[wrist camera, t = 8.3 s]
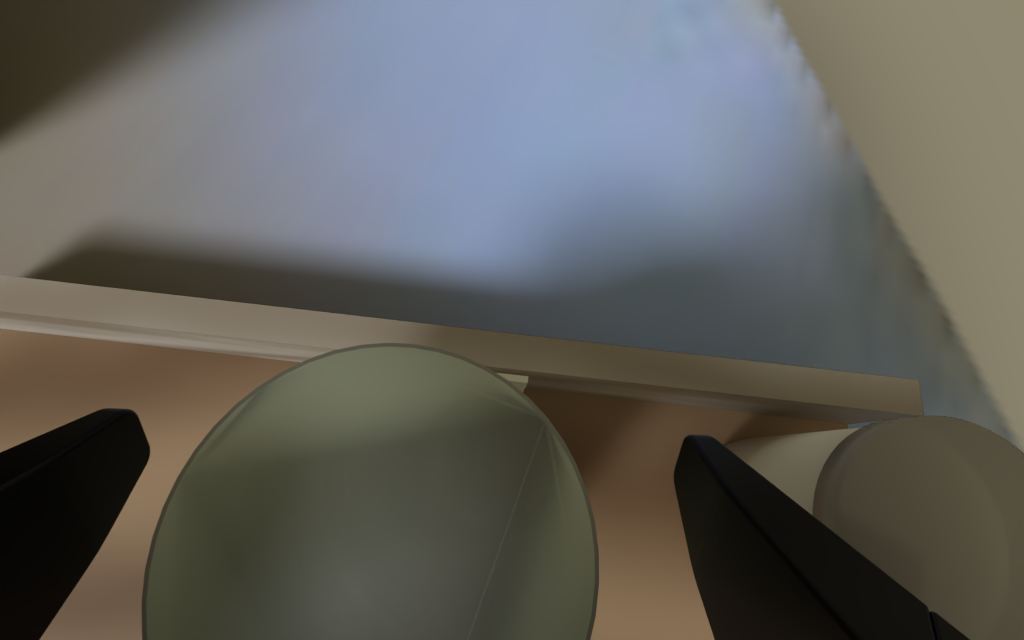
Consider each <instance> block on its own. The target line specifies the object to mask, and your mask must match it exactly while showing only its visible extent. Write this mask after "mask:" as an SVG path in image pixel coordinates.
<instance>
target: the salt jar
mask: <svg viewBox="0 0 1024 640" xmlns="http://www.w3.org/2000/svg"><path fill="white" fill-rule="evenodd" d="M725 447H727V448H728V449H729V450H730V451H732V452H733V453H734V454H736V455H737V456H738V457H739V458H741V459H742V460H743V461H744V462H746V463H747V464H748V465H749V466H751V467H752V468H753V469H755V470H756V471H757V472H758V473H760V474H761V475H762V476H763V477H765V478H766V479H767V480H768V481H770V482H771V483H772V484H774V485H775V486H776V487H777V488H779V489H780V490H781V491H782V492H784V493H785V494H786V495H787V496H789V497H790V498H791V499H792V500H794V501H795V502H796V503H798V504H799V505H800V506H801V507H803V508H804V509H805V510H806V511H808V512H809V513H810V514H811V515H813V516H814V517H815V518H817V519H818V520H819V521H820V522H822V523H823V524H824V525H825V526H827V527H828V528H829V529H830V530H832V531H833V532H834V533H836V534H837V535H838V536H839V537H841V538H842V539H843V540H844V541H846V542H847V543H848V544H849V545H851V546H852V547H853V548H855V549H856V550H857V551H858V552H860V553H861V554H862V555H863V556H865V557H866V558H867V559H868V560H870V561H871V562H872V563H874V564H875V565H876V566H877V567H879V568H880V569H881V570H882V571H884V572H885V573H886V574H887V575H889V576H890V577H891V578H893V579H894V580H895V581H896V582H898V583H899V584H900V585H901V586H903V587H904V588H905V589H906V590H908V591H909V592H910V593H912V594H913V595H914V596H915V597H917V598H918V599H919V600H920V601H922V602H923V603H924V604H925V605H927V607H928V609H929V611H934V612H936V613H937V614H938V615H940V616H941V617H942V618H943V619H945V620H946V621H947V622H948V623H950V624H951V625H952V626H954V627H955V628H956V629H957V630H959V631H960V632H961V633H962V634H964V635H965V636H966V637H968V638H969V639H970V640H1024V453H1023V452H1021V451H1020V450H1019V449H1018V448H1017V447H1015V446H1014V445H1012V444H1011V443H1010V442H1008V441H1007V440H1005V439H1004V438H1002V437H1000V436H999V435H997V434H995V433H994V432H992V431H990V430H988V429H986V428H983V427H981V426H979V425H976V424H974V423H971V422H968V421H964V420H961V419H957V418H951V417H945V416H921V417H911V418H902V419H893V420H884V421H880V422H876V423H872V424H869V425H867V426H864V427H862V428H851V429H841V430H831V431H820V432H810V433H800V434H789V435H779V436H768V437H758V438H748V439H741V440H737V441H734V442H732V443H729V444H727V445H725Z"/></svg>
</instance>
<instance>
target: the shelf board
mask: <svg viewBox="0 0 1024 640" xmlns="http://www.w3.org/2000/svg"><path fill="white" fill-rule="evenodd" d="M378 343H404V344H416V345H422V346H428V347H433V348H439V349H442V350H445V351H449V352H452V353H455V354H458V355H461V356H464V357H466V358H468V359H471V360H473V361H475V362H477V363H479V364H481V365H484V366H486V367H488V368H489V369H491V370H492V371H494V372H495V373H502V374H511V375H520V376H528V383H527V385H526V387H525V389H524V391H523V393H524V394H525V395H526V396H527V397H529V398H530V399H531V400H532V402H533V403H534V404H535V405H536V406H537V407H538V408H539V409H540V410H541V411H542V412H543V413H544V414H545V416H546V417H547V418H548V419H549V421H550V422H551V423H552V425H553V426H554V428H555V429H556V430H557V432H558V433H559V435H560V436H561V437H562V439H563V440H564V442H565V444H566V446H567V448H568V449H569V451H570V453H571V455H572V457H573V459H574V461H575V462H576V464H577V467H578V469H579V472H580V474H581V477H582V479H583V482H584V485H585V487H586V490H587V493H588V496H589V500H590V504H591V508H592V512H593V516H594V520H595V527H596V534H597V542H598V549H599V590H598V599H597V609H596V617H595V621H594V626H593V630H592V635H591V639H590V640H715V639H714V636H713V633H712V630H711V627H710V624H709V621H708V618H707V615H706V612H705V609H704V606H703V603H702V600H701V596H700V593H699V590H698V587H697V584H696V580H695V577H694V574H693V570H692V566H691V561H690V557H689V552H688V548H687V543H686V538H685V533H684V529H683V524H682V519H681V514H680V510H679V505H678V500H677V496H676V491H675V486H674V469H675V466H676V462H677V459H678V456H679V452H680V449H681V446H682V442H683V440H684V438H685V437H686V436H687V435H709V436H712V437H714V438H715V439H717V440H718V441H719V442H720V443H722V444H723V445H724V446H725V445H727V444H729V443H732V442H734V441H737V440H741V439H748V438H758V437H768V436H779V435H789V434H800V433H810V432H820V431H831V430H841V429H848V426H847V424H852V423H861V422H870V421H879V420H888V419H898V418H907V417H916V416H924V414H923V406H922V399H921V392H920V384H919V380H914V379H905V378H896V377H888V376H879V375H870V374H861V373H853V372H844V371H835V370H827V369H818V368H809V367H800V366H792V365H783V364H774V363H765V362H757V361H748V360H739V359H730V358H722V357H713V356H704V355H695V354H687V353H678V352H669V351H660V350H652V349H643V348H634V347H625V346H617V345H608V344H599V343H590V342H582V341H573V340H564V339H556V338H547V337H538V336H529V335H521V334H512V333H503V332H494V331H486V330H477V329H468V328H459V327H451V326H442V325H433V324H424V323H416V322H407V321H398V320H389V319H381V318H372V317H363V316H354V315H346V314H337V313H328V312H319V311H311V310H302V309H293V308H284V307H276V306H267V305H258V304H250V303H241V302H232V301H223V300H215V299H206V298H197V297H188V296H180V295H171V294H162V293H153V292H145V291H136V290H127V289H118V288H110V287H101V286H92V285H83V284H75V283H66V282H57V281H48V280H40V279H31V278H22V277H13V276H5V275H0V452H2V451H5V450H7V449H9V448H12V447H14V446H16V445H19V444H21V443H23V442H25V441H28V440H30V439H32V438H35V437H37V436H39V435H42V434H44V433H46V432H49V431H51V430H53V429H56V428H58V427H60V426H63V425H65V424H67V423H70V422H72V421H74V420H77V419H79V418H81V417H83V416H86V415H88V414H90V413H93V412H95V411H97V410H100V409H104V408H123V409H131V410H133V411H134V412H136V413H137V415H138V417H139V419H140V422H141V424H142V427H143V429H144V432H145V435H146V437H147V440H148V442H149V445H150V457H149V460H148V463H147V465H146V467H145V469H144V470H143V472H142V474H141V476H140V478H139V480H138V481H137V483H136V485H135V487H134V489H133V491H132V492H131V494H130V496H129V498H128V500H127V502H126V503H125V505H124V507H123V509H122V511H121V512H120V514H119V516H118V518H117V520H116V522H115V523H114V525H113V527H112V529H111V531H110V533H109V534H108V536H107V538H106V540H105V541H104V543H103V545H102V547H101V548H100V550H99V552H98V553H97V555H96V556H95V558H94V559H93V561H92V563H91V564H90V566H89V567H88V569H87V570H86V572H85V573H84V575H83V576H82V578H81V579H80V581H79V582H78V584H77V585H76V587H75V588H74V590H73V591H72V593H71V594H70V595H69V597H68V598H67V600H66V601H65V603H64V604H63V606H62V607H61V609H60V610H59V612H58V613H57V615H56V616H55V618H54V619H53V621H52V622H51V624H50V625H49V627H48V628H47V630H46V631H45V633H44V634H43V636H42V637H41V639H40V640H142V608H141V602H142V593H143V583H144V574H145V567H146V563H147V558H148V554H149V550H150V545H151V541H152V537H153V534H154V531H155V528H156V525H157V523H158V520H159V517H160V514H161V511H162V508H163V506H164V504H165V502H166V500H167V497H168V495H169V493H170V491H171V489H172V487H173V485H174V483H175V481H176V479H177V477H178V475H179V474H180V472H181V471H182V469H183V467H184V466H185V464H186V463H187V461H188V460H189V458H190V456H191V455H192V453H193V452H194V450H195V449H196V448H197V446H198V445H199V444H200V443H201V441H202V440H203V439H204V438H205V436H206V435H207V434H208V433H209V431H210V430H211V429H212V428H213V426H214V425H215V424H216V423H217V422H218V421H219V420H220V419H221V418H222V417H223V416H224V415H225V414H226V413H227V412H228V411H229V410H230V409H231V408H232V407H233V406H234V405H235V404H237V403H238V402H239V401H240V400H242V399H243V398H244V397H246V396H247V395H248V394H249V393H251V392H252V391H253V390H254V389H256V388H257V387H258V386H260V385H261V384H263V383H264V382H266V381H268V380H269V379H271V378H272V377H274V376H276V375H277V374H279V373H281V372H282V371H284V370H286V369H288V368H290V367H292V366H295V365H297V364H299V363H301V362H303V361H305V360H307V359H310V358H313V357H316V356H319V355H322V354H325V353H328V352H331V351H334V350H338V349H343V348H348V347H353V346H358V345H365V344H378Z"/></svg>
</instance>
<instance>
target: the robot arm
mask: <svg viewBox="0 0 1024 640" xmlns="http://www.w3.org/2000/svg"><path fill="white" fill-rule="evenodd" d="M149 457H150V445H149V442H148V440H147V437H146V435H145V432H144V429H143V427H142V424H141V422H140V419H139V417H138V415H137V413H136V412H134V411H133V410H131V409H123V408H104V409H100V410H97V411H95V412H93V413H90V414H88V415H86V416H83V417H81V418H79V419H77V420H74V421H72V422H70V423H67V424H65V425H63V426H60V427H58V428H56V429H53V430H51V431H49V432H46V433H44V434H42V435H39V436H37V437H35V438H32V439H30V440H28V441H25V442H23V443H21V444H19V445H16V446H14V447H12V448H9V449H7V450H5V451H2V452H0V640H40V639H41V637H42V636H43V634H44V633H45V631H46V630H47V628H48V627H49V625H50V624H51V622H52V621H53V619H54V618H55V616H56V615H57V613H58V612H59V610H60V609H61V607H62V606H63V604H64V603H65V601H66V600H67V598H68V597H69V595H70V594H71V593H72V591H73V590H74V588H75V587H76V585H77V584H78V582H79V581H80V579H81V578H82V576H83V575H84V573H85V572H86V570H87V569H88V567H89V566H90V564H91V563H92V561H93V559H94V558H95V556H96V555H97V553H98V552H99V550H100V548H101V547H102V545H103V543H104V541H105V540H106V538H107V536H108V534H109V533H110V531H111V529H112V527H113V525H114V523H115V522H116V520H117V518H118V516H119V514H120V512H121V511H122V509H123V507H124V505H125V503H126V502H127V500H128V498H129V496H130V494H131V492H132V491H133V489H134V487H135V485H136V483H137V481H138V480H139V478H140V476H141V474H142V472H143V470H144V469H145V467H146V465H147V463H148V460H149ZM674 486H675V491H676V496H677V500H678V505H679V510H680V514H681V519H682V524H683V529H684V533H685V538H686V543H687V548H688V552H689V557H690V561H691V566H692V570H693V574H694V577H695V580H696V584H697V587H698V590H699V593H700V596H701V600H702V603H703V606H704V609H705V612H706V615H707V618H708V621H709V624H710V627H711V630H712V633H713V636H714V639H715V640H970V639H969V638H968V637H966V636H965V635H964V634H962V633H961V632H960V631H959V630H957V629H956V628H955V627H954V626H952V625H951V624H950V623H948V622H947V621H946V620H945V619H943V618H942V617H941V616H940V615H938V614H937V613H936V612H934V611H929V609H928V607H927V605H925V604H924V603H923V602H922V601H920V600H919V599H918V598H917V597H915V596H914V595H913V594H912V593H910V592H909V591H908V590H906V589H905V588H904V587H903V586H901V585H900V584H899V583H898V582H896V581H895V580H894V579H893V578H891V577H890V576H889V575H887V574H886V573H885V572H884V571H882V570H881V569H880V568H879V567H877V566H876V565H875V564H874V563H872V562H871V561H870V560H868V559H867V558H866V557H865V556H863V555H862V554H861V553H860V552H858V551H857V550H856V549H855V548H853V547H852V546H851V545H849V544H848V543H847V542H846V541H844V540H843V539H842V538H841V537H839V536H838V535H837V534H836V533H834V532H833V531H832V530H830V529H829V528H828V527H827V526H825V525H824V524H823V523H822V522H820V521H819V520H818V519H817V518H815V517H814V516H813V515H811V514H810V513H809V512H808V511H806V510H805V509H804V508H803V507H801V506H800V505H799V504H798V503H796V502H795V501H794V500H792V499H791V498H790V497H789V496H787V495H786V494H785V493H784V492H782V491H781V490H780V489H779V488H777V487H776V486H775V485H774V484H772V483H771V482H770V481H768V480H767V479H766V478H765V477H763V476H762V475H761V474H760V473H758V472H757V471H756V470H755V469H753V468H752V467H751V466H749V465H748V464H747V463H746V462H744V461H743V460H742V459H741V458H739V457H738V456H737V455H736V454H734V453H733V452H732V451H730V450H729V449H728V448H727V447H725V446H724V445H723V444H722V443H720V442H719V441H718V440H717V439H715V438H714V437H712V436H709V435H687V436H686V437H685V438H684V440H683V442H682V446H681V449H680V452H679V456H678V459H677V462H676V466H675V469H674Z"/></svg>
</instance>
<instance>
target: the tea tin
mask: <svg viewBox="0 0 1024 640" xmlns="http://www.w3.org/2000/svg"><path fill="white" fill-rule="evenodd" d="M527 383H528V376H520V375H511V374H502V373H495V372H494V371H492V370H491V369H489V368H488V367H486V366H484V365H481V364H479V363H477V362H475V361H473V360H471V359H468V358H466V357H464V356H461V355H458V354H455V353H452V352H449V351H445V350H442V349H439V348H433V347H428V346H422V345H416V344H404V343H378V344H365V345H358V346H353V347H348V348H343V349H338V350H334V351H331V352H328V353H325V354H322V355H319V356H316V357H313V358H310V359H307V360H305V361H303V362H301V363H299V364H297V365H295V366H292V367H290V368H288V369H286V370H284V371H282V372H281V373H279V374H277V375H276V376H274V377H272V378H271V379H269V380H268V381H266V382H264V383H263V384H261V385H260V386H258V387H257V388H256V389H254V390H253V391H252V392H251V393H249V394H248V395H247V396H246V397H244V398H243V399H242V400H240V401H239V402H238V403H237V404H235V405H234V406H233V407H232V408H231V409H230V410H229V411H228V412H227V413H226V414H225V415H224V416H223V417H222V418H221V419H220V420H219V421H218V422H217V423H216V424H215V425H214V426H213V428H212V429H211V430H210V431H209V433H208V434H207V435H206V436H205V438H204V439H203V440H202V441H201V443H200V444H199V445H198V446H197V448H196V449H195V450H194V452H193V453H192V455H191V456H190V458H189V460H188V461H187V463H186V464H185V466H184V467H183V469H182V471H181V472H180V474H179V475H178V477H177V479H176V481H175V483H174V485H173V487H172V489H171V491H170V493H169V495H168V497H167V500H166V502H165V504H164V506H163V508H162V511H161V514H160V517H159V520H158V523H157V525H156V528H155V531H154V534H153V537H152V541H151V545H150V550H149V554H148V558H147V563H146V567H145V574H144V583H143V593H142V602H141V608H142V640H590V639H591V635H592V630H593V626H594V621H595V617H596V609H597V599H598V590H599V549H598V542H597V534H596V527H595V520H594V516H593V512H592V508H591V504H590V500H589V496H588V493H587V490H586V487H585V485H584V482H583V479H582V477H581V474H580V472H579V469H578V467H577V464H576V462H575V461H574V459H573V457H572V455H571V453H570V451H569V449H568V448H567V446H566V444H565V442H564V440H563V439H562V437H561V436H560V435H559V433H558V432H557V430H556V429H555V428H554V426H553V425H552V423H551V422H550V421H549V419H548V418H547V417H546V416H545V414H544V413H543V412H542V411H541V410H540V409H539V408H538V407H537V406H536V405H535V404H534V403H533V402H532V400H531V399H530V398H529V397H527V396H526V395H525V394H524V393H523V391H524V389H525V387H526V385H527Z"/></svg>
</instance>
